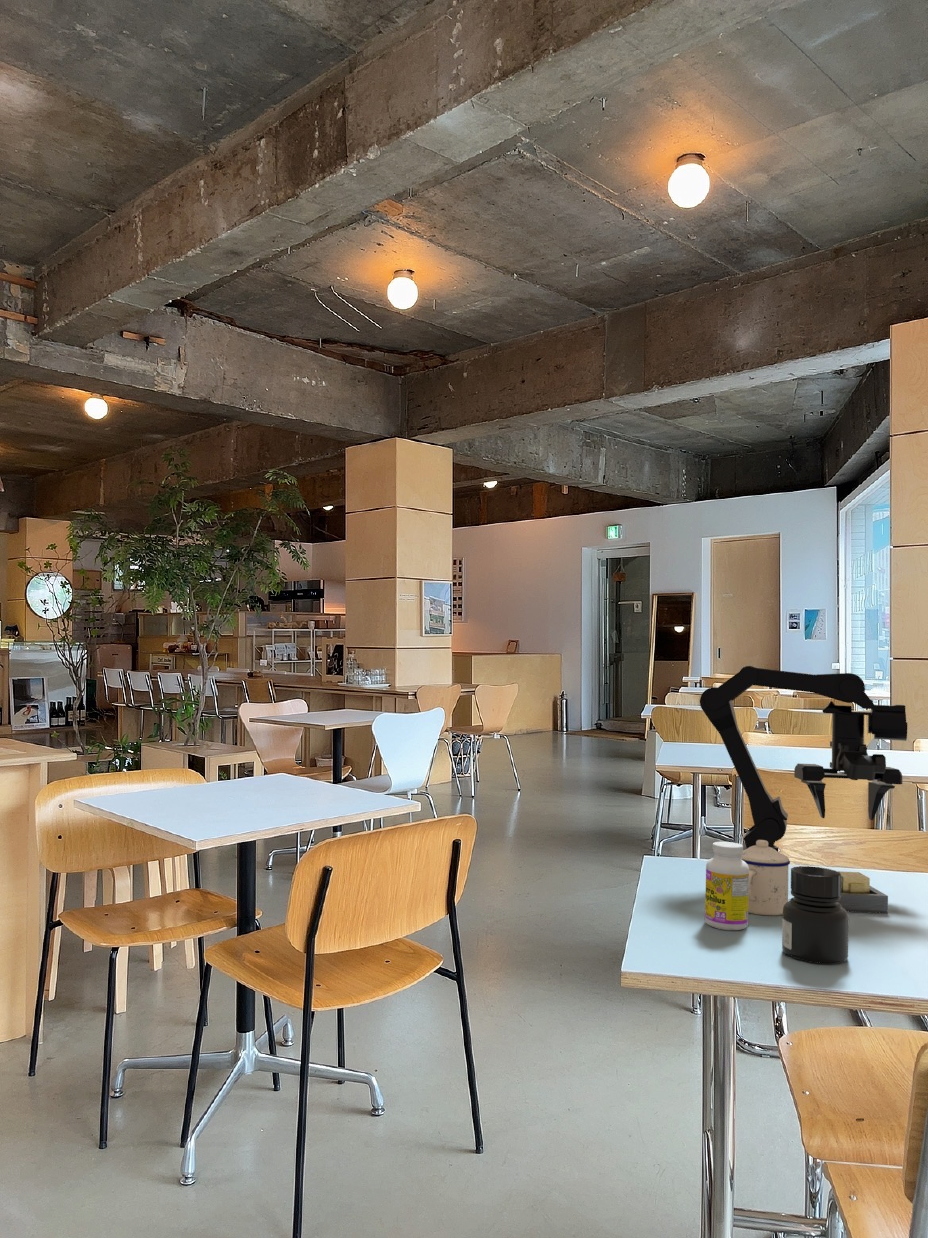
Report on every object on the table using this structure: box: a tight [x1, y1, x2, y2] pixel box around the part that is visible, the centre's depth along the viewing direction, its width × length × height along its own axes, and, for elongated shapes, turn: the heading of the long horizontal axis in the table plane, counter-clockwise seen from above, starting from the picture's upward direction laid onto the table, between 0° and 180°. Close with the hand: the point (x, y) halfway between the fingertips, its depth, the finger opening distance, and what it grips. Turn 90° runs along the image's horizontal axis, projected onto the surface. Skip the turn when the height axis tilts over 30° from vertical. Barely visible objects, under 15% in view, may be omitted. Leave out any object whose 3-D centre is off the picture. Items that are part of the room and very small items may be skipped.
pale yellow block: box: [836, 870, 871, 894], centre depth 160 cm, size 4×6×5 cm
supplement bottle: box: [704, 841, 749, 931], centre depth 145 cm, size 7×7×13 cm
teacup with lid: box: [742, 840, 791, 916], centre depth 155 cm, size 12×9×12 cm
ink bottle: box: [781, 865, 850, 965], centre depth 131 cm, size 10×9×12 cm
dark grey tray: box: [837, 885, 889, 915], centre depth 163 cm, size 9×15×3 cm, turn 179°
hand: (846, 819), depth 175 cm, fingers open, 9 cm apart
